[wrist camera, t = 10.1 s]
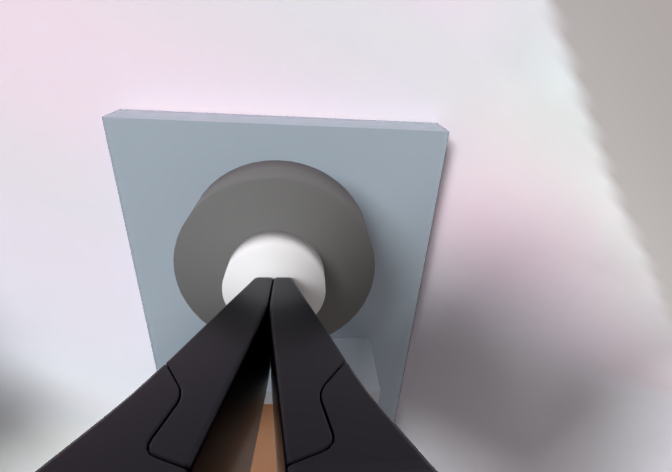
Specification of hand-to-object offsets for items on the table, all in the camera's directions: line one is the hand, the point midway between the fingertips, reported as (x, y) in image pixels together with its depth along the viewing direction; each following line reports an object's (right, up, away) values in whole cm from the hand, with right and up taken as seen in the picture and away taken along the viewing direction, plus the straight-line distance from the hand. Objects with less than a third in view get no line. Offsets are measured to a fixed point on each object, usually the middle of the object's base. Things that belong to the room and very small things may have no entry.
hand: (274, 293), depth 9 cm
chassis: (-1, -2, +7) cm, 7 cm away
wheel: (0, +1, +2) cm, 2 cm away
